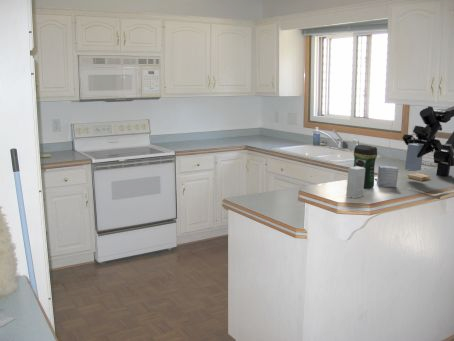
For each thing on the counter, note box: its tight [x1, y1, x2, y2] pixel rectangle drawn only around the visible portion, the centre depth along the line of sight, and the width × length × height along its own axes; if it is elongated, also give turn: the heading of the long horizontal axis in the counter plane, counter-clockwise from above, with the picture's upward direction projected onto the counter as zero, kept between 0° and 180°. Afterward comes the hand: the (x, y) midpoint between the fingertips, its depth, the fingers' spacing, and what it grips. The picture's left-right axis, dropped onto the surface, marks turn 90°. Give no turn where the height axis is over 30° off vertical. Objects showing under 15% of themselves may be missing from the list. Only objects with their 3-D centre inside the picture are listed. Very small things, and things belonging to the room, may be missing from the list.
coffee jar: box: [353, 144, 378, 190], centre depth 215 cm, size 10×8×19 cm
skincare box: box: [345, 166, 365, 199], centre depth 199 cm, size 6×4×12 cm
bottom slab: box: [406, 176, 432, 182], centre depth 235 cm, size 8×8×2 cm
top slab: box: [407, 172, 431, 182], centre depth 235 cm, size 7×7×2 cm
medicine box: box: [376, 165, 399, 188], centre depth 220 cm, size 8×4×9 cm, turn 84°
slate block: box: [404, 143, 424, 172], centre depth 229 cm, size 5×5×12 cm
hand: (412, 156), depth 228 cm, fingers closed on slate block, 5 cm apart
